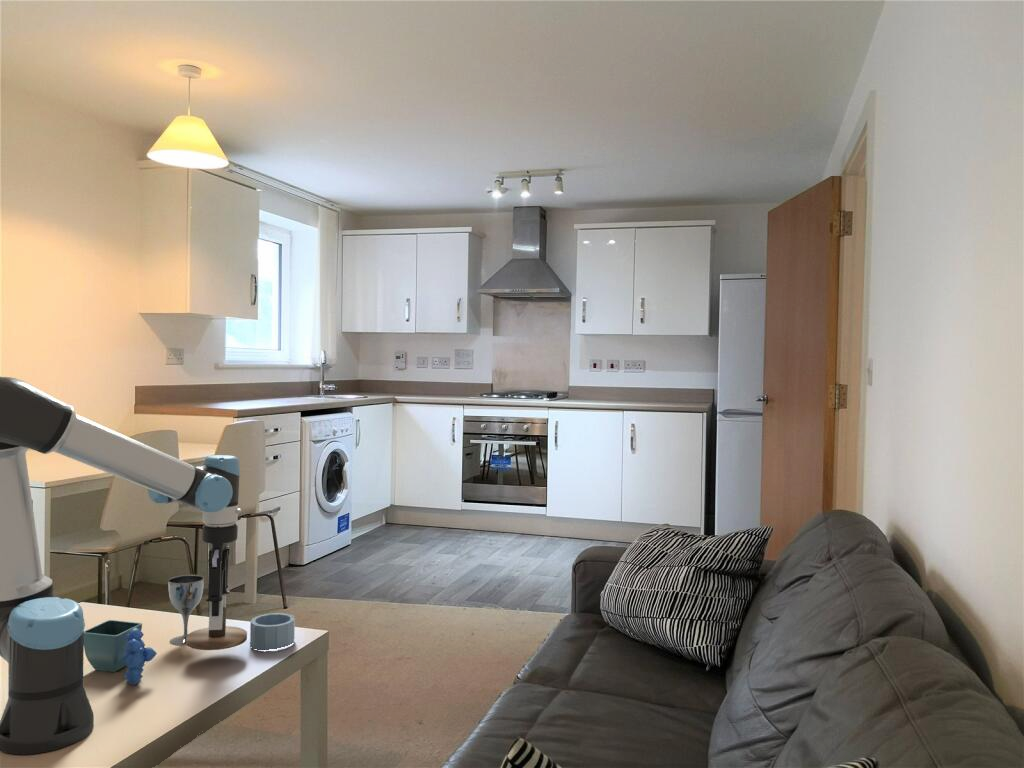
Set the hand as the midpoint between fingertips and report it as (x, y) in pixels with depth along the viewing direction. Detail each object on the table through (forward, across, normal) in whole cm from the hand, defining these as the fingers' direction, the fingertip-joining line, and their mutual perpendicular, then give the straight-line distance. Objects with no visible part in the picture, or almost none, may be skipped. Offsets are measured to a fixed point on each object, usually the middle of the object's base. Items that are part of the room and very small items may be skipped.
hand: (217, 626), depth 180 cm
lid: (+3, 0, 0) cm, 3 cm away
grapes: (+8, -12, +14) cm, 20 cm away
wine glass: (+8, +14, +10) cm, 19 cm away
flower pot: (+8, -2, +22) cm, 23 cm away
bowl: (+7, +8, -12) cm, 16 cm away
